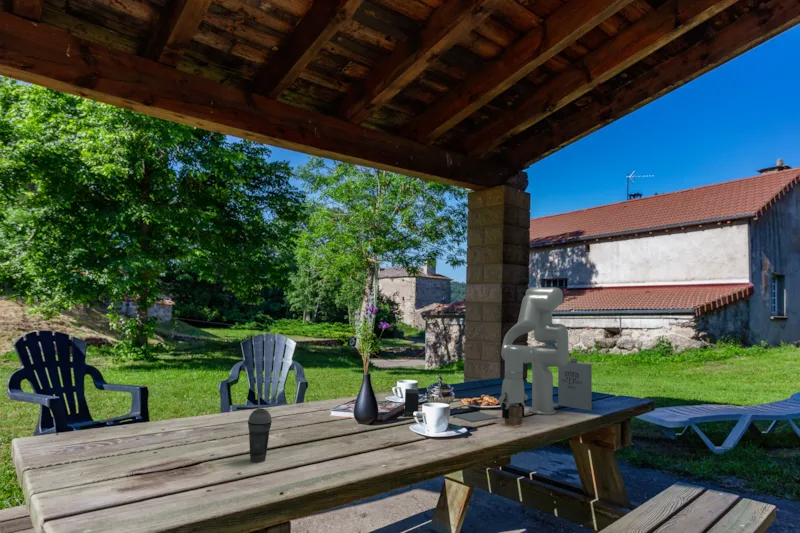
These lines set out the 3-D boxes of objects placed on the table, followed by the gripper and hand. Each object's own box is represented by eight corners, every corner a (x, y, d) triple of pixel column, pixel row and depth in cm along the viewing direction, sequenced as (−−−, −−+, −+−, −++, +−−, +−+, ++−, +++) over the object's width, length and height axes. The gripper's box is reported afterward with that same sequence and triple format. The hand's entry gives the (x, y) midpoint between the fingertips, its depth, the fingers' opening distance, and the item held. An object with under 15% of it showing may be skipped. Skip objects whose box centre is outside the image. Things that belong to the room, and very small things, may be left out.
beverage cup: (256, 465, 144) (260, 397, 146) (240, 461, 148) (244, 394, 150) (275, 459, 151) (278, 394, 152) (258, 455, 154) (262, 391, 156)
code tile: (511, 421, 212) (511, 418, 212) (534, 427, 202) (534, 424, 202) (492, 424, 205) (492, 422, 205) (515, 430, 195) (515, 428, 195)
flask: (556, 404, 253) (556, 356, 255) (560, 403, 256) (560, 355, 258) (588, 410, 240) (588, 359, 242) (592, 409, 243) (592, 358, 245)
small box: (418, 417, 215) (419, 392, 216) (404, 416, 215) (404, 392, 216) (418, 411, 226) (418, 389, 227) (404, 411, 226) (404, 388, 227)
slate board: (478, 415, 222) (478, 411, 222) (498, 420, 213) (498, 416, 213) (453, 419, 213) (453, 415, 213) (472, 424, 203) (472, 421, 203)
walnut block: (512, 421, 207) (512, 404, 208) (522, 423, 203) (522, 406, 204) (504, 422, 204) (505, 405, 205) (514, 425, 200) (514, 408, 201)
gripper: (520, 373, 213) (519, 413, 212) (493, 375, 203) (492, 417, 201) (534, 376, 207) (533, 417, 206) (506, 378, 197) (506, 421, 195)
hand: (513, 417), depth 204 cm, fingers open, 9 cm apart
